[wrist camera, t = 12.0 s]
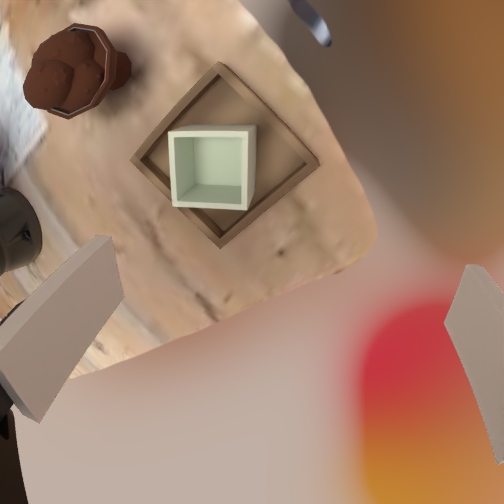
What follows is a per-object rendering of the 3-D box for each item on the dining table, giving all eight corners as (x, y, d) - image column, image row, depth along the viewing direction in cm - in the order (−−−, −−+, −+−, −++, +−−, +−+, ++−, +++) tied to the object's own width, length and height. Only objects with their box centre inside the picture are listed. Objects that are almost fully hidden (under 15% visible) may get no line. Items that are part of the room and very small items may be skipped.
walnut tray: (140, 155, 39) (129, 160, 36) (224, 63, 32) (218, 61, 30) (225, 238, 43) (220, 248, 40) (318, 160, 36) (319, 165, 34)
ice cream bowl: (159, 92, 35) (89, 99, 21) (90, 119, 37) (12, 141, 24) (142, 20, 30) (70, -2, 17) (75, 53, 32) (-4, 54, 19)
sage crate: (192, 187, 39) (172, 206, 33) (189, 124, 35) (168, 131, 29) (255, 190, 38) (247, 210, 32) (257, 124, 35) (248, 131, 28)
